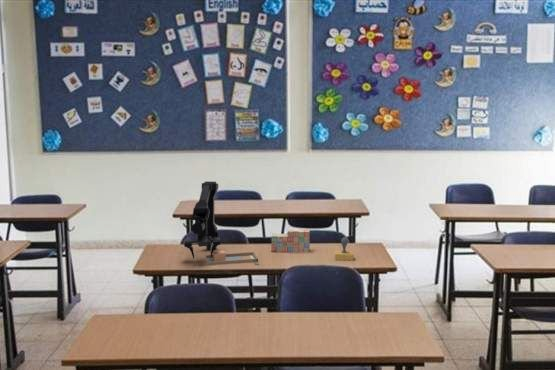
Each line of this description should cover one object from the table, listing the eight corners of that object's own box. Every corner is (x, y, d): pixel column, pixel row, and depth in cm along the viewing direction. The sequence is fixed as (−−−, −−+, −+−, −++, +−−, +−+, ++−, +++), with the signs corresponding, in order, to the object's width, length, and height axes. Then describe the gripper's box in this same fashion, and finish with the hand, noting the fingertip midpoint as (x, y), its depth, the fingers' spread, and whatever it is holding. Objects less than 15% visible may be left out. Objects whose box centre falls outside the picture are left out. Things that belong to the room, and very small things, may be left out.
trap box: (205, 260, 336) (205, 255, 336) (253, 257, 342) (253, 252, 341) (208, 267, 324) (208, 262, 323) (258, 264, 329) (258, 258, 329)
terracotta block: (213, 258, 335) (213, 251, 334) (224, 257, 336) (224, 250, 335) (214, 261, 330) (214, 253, 329) (225, 260, 331) (225, 253, 331)
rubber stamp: (334, 260, 336) (335, 238, 334) (334, 257, 342) (335, 235, 339) (353, 260, 335) (354, 239, 333) (353, 257, 341) (353, 236, 339)
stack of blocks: (271, 252, 352) (271, 231, 349) (272, 249, 358) (272, 228, 355) (309, 253, 350) (309, 231, 348) (309, 249, 356) (309, 228, 354)
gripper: (184, 234, 318) (185, 263, 321) (221, 232, 322) (221, 261, 325) (183, 228, 329) (184, 257, 332) (218, 226, 333) (219, 255, 336)
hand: (202, 257), depth 331 cm, fingers open, 9 cm apart
